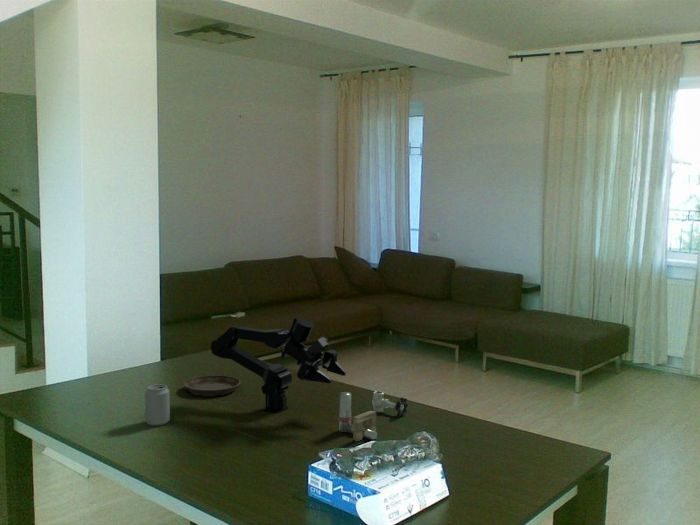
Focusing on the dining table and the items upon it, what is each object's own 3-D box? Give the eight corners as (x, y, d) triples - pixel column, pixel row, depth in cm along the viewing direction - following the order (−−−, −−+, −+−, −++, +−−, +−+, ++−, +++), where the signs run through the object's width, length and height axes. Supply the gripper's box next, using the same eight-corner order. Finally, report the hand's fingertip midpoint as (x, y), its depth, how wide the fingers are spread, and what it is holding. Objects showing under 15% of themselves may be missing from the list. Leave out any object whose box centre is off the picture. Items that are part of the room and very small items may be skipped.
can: (174, 421, 218) (174, 384, 217) (159, 428, 211) (158, 391, 210) (156, 417, 221) (155, 381, 220) (140, 424, 214) (139, 387, 213)
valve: (367, 412, 228) (397, 419, 221) (367, 393, 228) (398, 400, 221) (378, 407, 234) (408, 414, 227) (378, 389, 233) (408, 395, 226)
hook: (335, 431, 209) (335, 393, 208) (344, 427, 213) (344, 390, 211) (370, 442, 200) (370, 403, 199) (379, 438, 203) (380, 400, 202)
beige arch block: (353, 441, 202) (353, 417, 201) (370, 433, 208) (371, 410, 207) (358, 442, 201) (358, 418, 200) (376, 435, 207) (376, 411, 206)
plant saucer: (213, 379, 267) (213, 371, 266) (251, 389, 255) (251, 380, 254) (172, 392, 250) (172, 383, 250) (210, 402, 238) (210, 393, 238)
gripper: (293, 338, 213) (331, 364, 207) (324, 327, 229) (361, 350, 223) (281, 367, 216) (319, 394, 210) (313, 354, 232) (349, 378, 226)
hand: (338, 378), depth 217 cm, fingers open, 9 cm apart
